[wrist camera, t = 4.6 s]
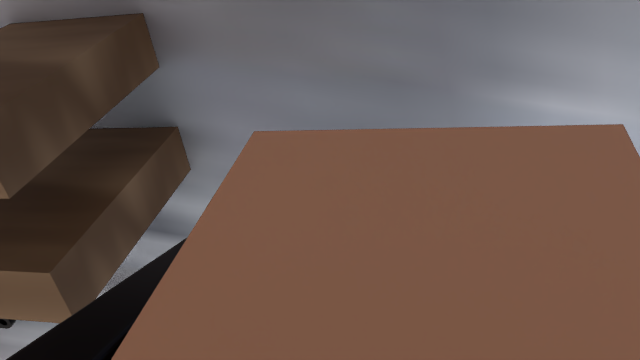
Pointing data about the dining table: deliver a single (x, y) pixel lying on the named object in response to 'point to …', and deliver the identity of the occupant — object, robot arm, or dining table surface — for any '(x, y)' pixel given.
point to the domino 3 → (410, 250)
